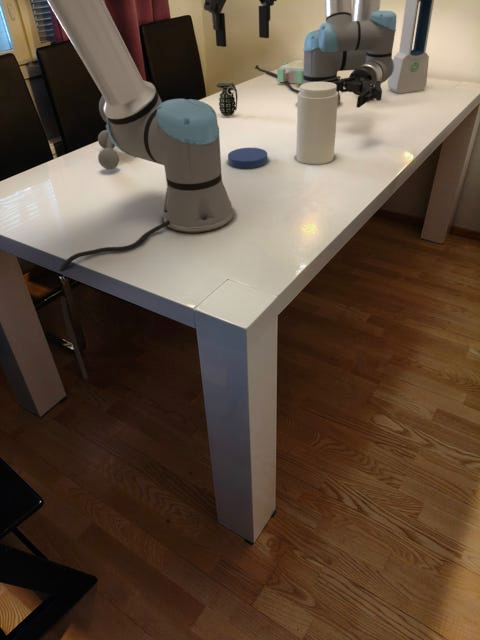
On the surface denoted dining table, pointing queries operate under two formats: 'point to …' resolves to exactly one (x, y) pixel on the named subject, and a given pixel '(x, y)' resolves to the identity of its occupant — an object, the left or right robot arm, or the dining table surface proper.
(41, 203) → the dining table surface
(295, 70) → the decorative block
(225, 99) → the grenade
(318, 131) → the jar
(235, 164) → the lid
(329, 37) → the right robot arm
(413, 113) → the dining table surface
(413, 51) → the electronic device
